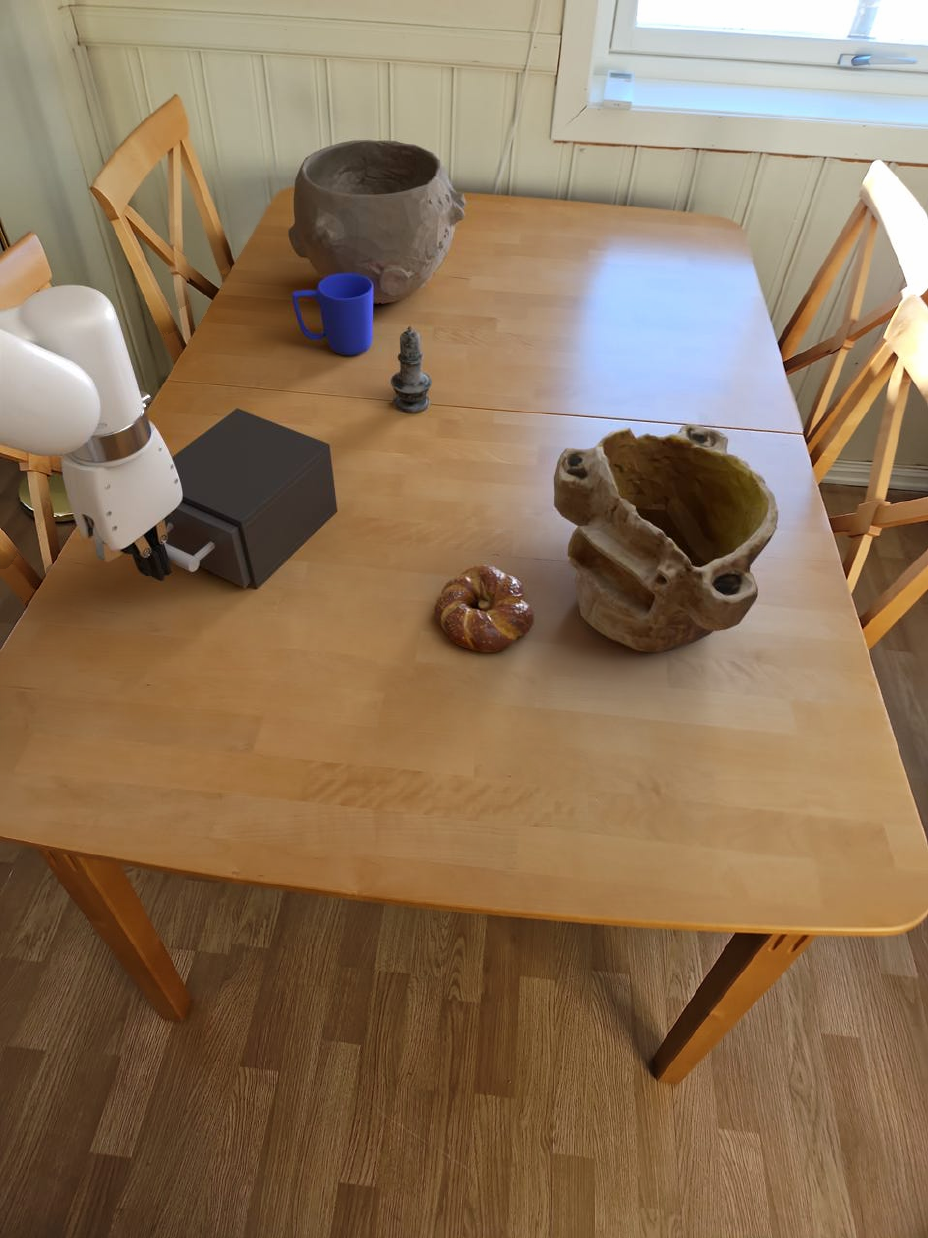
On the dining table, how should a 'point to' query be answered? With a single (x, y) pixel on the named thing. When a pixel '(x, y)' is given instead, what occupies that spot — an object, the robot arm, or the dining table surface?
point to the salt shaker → (411, 376)
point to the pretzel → (483, 609)
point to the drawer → (206, 544)
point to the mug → (342, 312)
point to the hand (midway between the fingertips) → (156, 572)
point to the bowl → (375, 214)
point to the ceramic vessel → (663, 534)
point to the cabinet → (260, 486)
